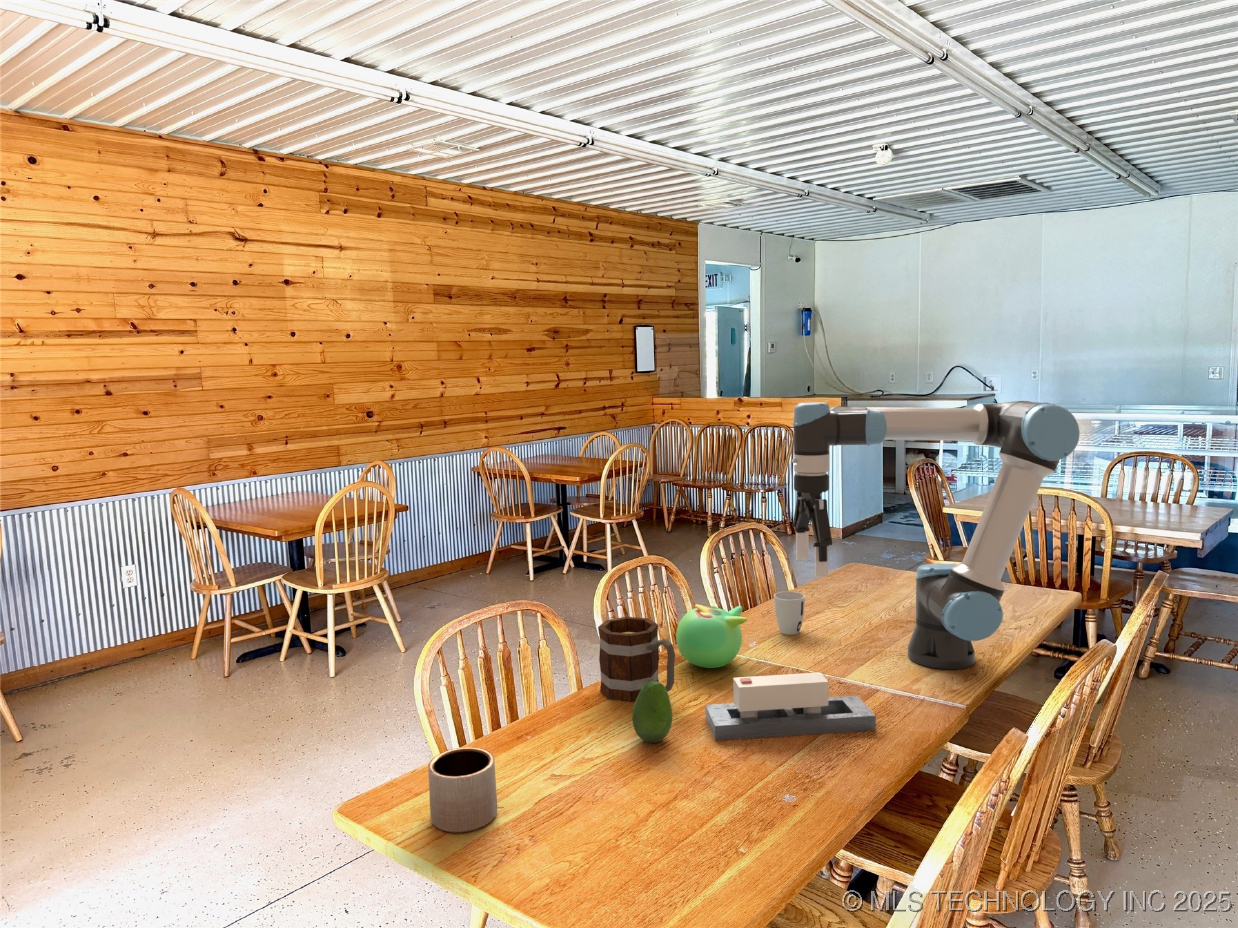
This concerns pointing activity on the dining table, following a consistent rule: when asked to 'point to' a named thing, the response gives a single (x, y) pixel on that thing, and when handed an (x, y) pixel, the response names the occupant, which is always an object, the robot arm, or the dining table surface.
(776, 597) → the cup
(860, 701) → the keyhole plate
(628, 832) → the dining table surface
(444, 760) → the planter
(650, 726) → the fruit
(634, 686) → the mug
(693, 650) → the toy bird
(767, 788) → the dining table surface
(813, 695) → the cream block with pegs
